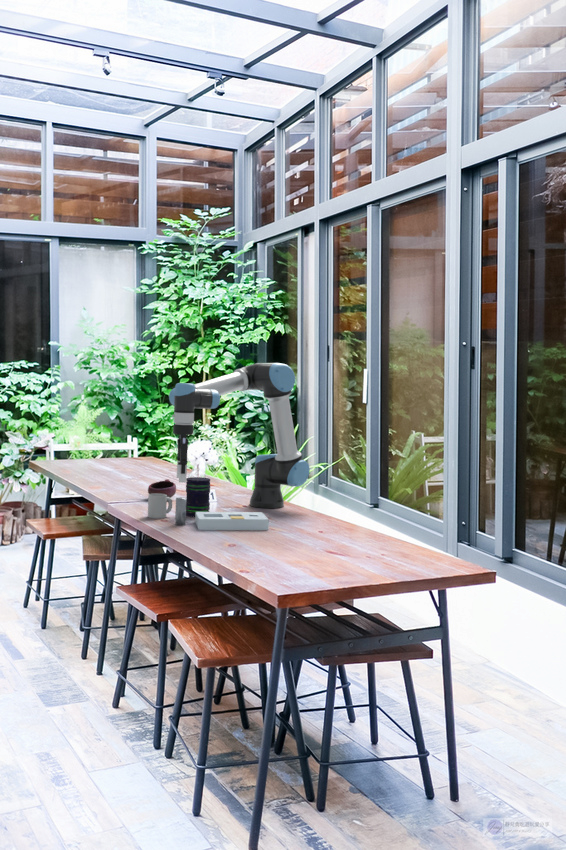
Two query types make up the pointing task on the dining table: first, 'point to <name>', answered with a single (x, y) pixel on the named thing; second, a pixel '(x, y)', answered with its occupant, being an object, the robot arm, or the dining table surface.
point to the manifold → (231, 521)
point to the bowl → (163, 488)
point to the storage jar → (197, 495)
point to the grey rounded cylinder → (180, 511)
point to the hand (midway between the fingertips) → (181, 480)
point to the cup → (158, 505)
